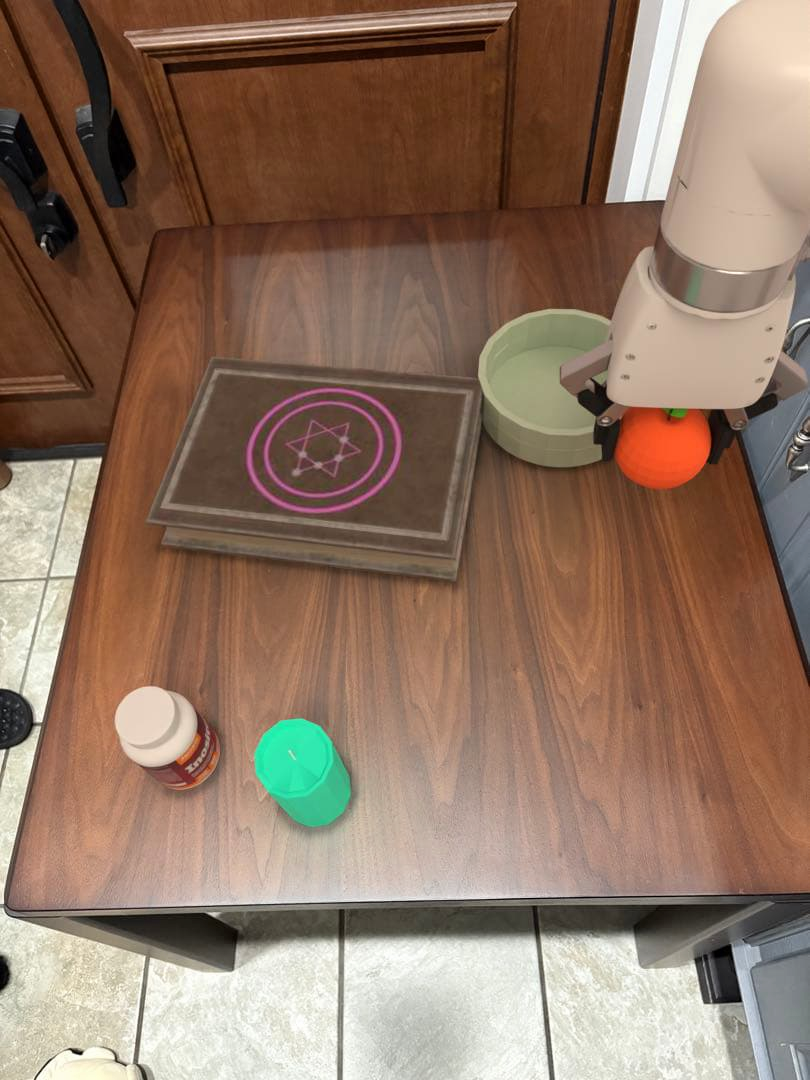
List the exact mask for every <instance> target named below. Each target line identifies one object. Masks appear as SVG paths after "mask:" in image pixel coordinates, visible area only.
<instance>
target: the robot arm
mask: <svg viewBox="0 0 810 1080" xmlns="http://www.w3.org/2000/svg"><path fill="white" fill-rule="evenodd" d="M669 180H670V181H669V185H668V189H667V192H666V196H665V199H664V204H663V208H662V212H661V216H660V220H659V225H658V229H657V232H656V236H655V241H654V245H650V246H645V247H644V248H643V249H642V250H640V252H639V253H638V255H637V256H636V258H635V260H634V261H633V263H632V265H631V267H630V270H629V272H628V274H627V276H626V278H625V280H624V283H623V286H622V288H621V291H620V293H619V296H618V299H617V302H616V305H615V307H614V310H613V313H612V314H613V315H612V317H611V320H610V321H611V323H610V326H609V330H608V334H607V337H606V342H605V343H603V344H601V345H599V346H597V347H595V348H593V349H591V350H589V351H587V352H585V353H584V354H582V355H580V356H578V357H576V358H574V359H572V360H570V361H568V362H566V363H564V364H562V365H561V366H560V368H559V370H560V384H561V385H562V386H563V387H564V388H565V389H566V390H567V391H568V392H569V393H570V394H572V395H573V396H575V397H576V398H578V403H579V404H580V405H581V406H583V407H584V408H585V409H587V410H588V411H589V412H590V413H592V414H593V415H594V416H596V420H595V424H594V431H593V442H594V445H601V450H602V459H601V461H602V462H610V461H611V460H613V458H614V451H615V447H616V444H617V440H618V436H619V432H620V417H621V416H622V415H623V414H624V413H625V412H626V411H628V410H629V409H630V408H631V407H632V406H633V407H652V408H686V409H699V410H711V411H710V413H709V415H708V418H707V419H706V420H707V421H708V424H709V428H710V433H711V437H712V440H711V448H710V453H709V457H708V459H707V461H706V462H705V463H708V465H710V466H711V465H713V466H714V465H715V466H716V465H718V464H719V462H720V459H721V457H722V455H723V453H724V450H725V449H727V450H728V449H730V448H731V446H732V443H733V442H734V439H735V437H736V435H737V433H738V431H742V430H744V429H746V428H748V427H749V425H750V420H752V419H754V418H756V417H758V416H761V415H763V414H766V413H767V412H769V411H771V410H774V409H775V408H777V407H778V406H779V402H781V401H783V402H784V401H787V400H788V399H790V398H792V397H794V396H795V395H797V394H800V393H802V392H804V391H805V390H806V389H808V387H809V381H808V378H807V373H806V370H805V369H804V368H803V367H802V366H801V365H800V364H799V363H797V362H796V361H795V360H794V359H793V358H791V357H790V356H789V355H788V354H787V353H785V352H784V351H783V350H782V348H783V346H784V342H785V338H786V334H787V331H788V326H789V322H790V319H791V314H792V309H793V305H794V299H795V295H796V294H795V292H796V286H797V277H796V271H797V268H798V267H799V266H800V265H801V264H802V263H807V262H809V261H810V0H740V1H738V2H736V3H734V4H733V5H732V6H730V7H729V8H728V9H727V10H726V11H725V12H723V14H722V15H721V16H720V17H719V18H718V19H717V20H716V22H715V23H714V24H713V25H712V28H711V30H710V31H709V33H708V35H707V37H706V39H705V42H704V45H703V49H702V52H701V55H700V58H699V62H698V65H697V70H696V74H695V77H694V82H693V86H692V91H691V95H690V99H689V102H688V107H687V111H686V115H685V120H684V123H683V128H682V131H681V136H680V139H679V143H678V148H677V152H676V156H675V160H674V164H673V169H672V172H671V177H670V179H669ZM606 370H607V380H606V381H605V382H604V383H603V384H602V385H600V384H599V383H598V382H597V381H595V380H594V379H593V378H592V377H594V376H596V375H598V374H600V373H602V372H604V371H606Z"/></svg>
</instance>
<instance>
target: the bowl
mask: <svg viewBox="0 0 810 1080" xmlns="http://www.w3.org/2000/svg"><path fill="white" fill-rule="evenodd" d="M610 323H611V320H610V319H608V318H606V317H605V316H603V315H600V314H597V313H592V312H589V311H585V310H581V309H575V308H546V309H542V310H536V311H533V312H528V313H527V312H526V313H524V314H523V315H521V316H518V317H516V318H514V319H512V320H509V321H508V322H506V323H505V324H503V325H502V326H501V327H500V328H499V329H497V331H495V333H493V334H492V335H491V336H490V337H489V338H487V341H486V342H485V345H484V347H483V349H482V351H481V353H480V354H479V357H478V370H477V378H478V379H479V382H480V385H481V388H482V391H483V397H482V403H481V409H480V413H481V416H482V426H483V427H484V430H485V431H486V432H487V434H488V435H489V437H490V438H491V439H492V440H493V441H494V442H495V444H497V445H498V446H499V447H500V448H502V449H503V450H504V451H506V452H507V453H509V454H510V455H513V456H514V457H516V458H518V459H520V460H523V461H525V462H528V463H530V464H533V465H537V466H542V467H549V468H572V467H573V468H574V467H581V466H585V465H589V464H593V463H596V462H599V461H602V450H601V445H594V442H593V431H594V424H595V420H596V416H594V415H593V414H592V413H590V412H589V411H588V410H587V409H585V408H584V407H583V406H581V405H580V404H579V403H578V398H576V397H575V396H573V395H572V394H570V393H569V392H568V391H567V390H566V389H565V388H564V387H563V386H562V385H561V384H560V370H559V368H560V366H561V365H562V364H564V363H566V362H568V361H570V360H572V359H574V358H576V357H578V356H580V355H582V354H584V353H585V352H587V351H589V350H591V349H593V348H595V347H597V346H599V345H601V344H603V343H605V342H606V337H607V334H608V330H609V326H610ZM592 378H593V379H594V380H595V381H597V382H598V383H599V384H600V385H602V384H603V383H604V382H605V381H606V380H607V370H606V371H604V372H602V373H600V374H598V375H596V376H594V377H592ZM621 417H622V416H621ZM621 417H620V418H621Z"/></svg>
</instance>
